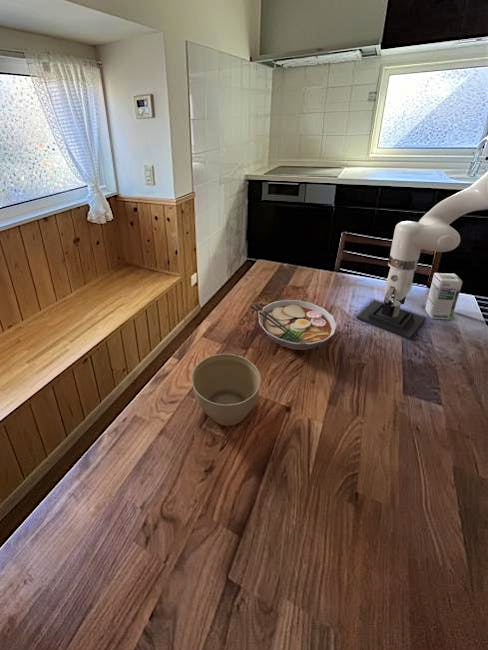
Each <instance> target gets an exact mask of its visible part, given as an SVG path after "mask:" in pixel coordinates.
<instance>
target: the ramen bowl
mask: <svg viewBox="0 0 488 650" xmlns="http://www.w3.org/2000/svg"><path fill="white" fill-rule="evenodd" d="M250 309H252V310H253V311H255V312H256V313H257V314H258V323H259V325H260V327H261V328H262V331H264V333H265V334H266V335H267V336H268V338H269V339H270V340H272V341H273V342H274V343H276V344H278V345H280V346H281V347H284V348H288V349H292V350H300V351H301V350H302V351H306V350H309V351H310V350H312V349H315V348H318V347H320V346H321V345H322V344H325V342H327V340H329V339H331V338H332V337H333V336H334V335H335V331H336V328H337V322H336V321H335V319H334V316H333V315H332V314H331V313H330V312H328V311H327V309H325V308H324V307H321V306H319V305H316V304H314V303H312V302H308V301H304V300H299V299H283V300H277V301H274V302H271V303H269V304H267V305H265V306H263V307H262V306H260V305H259V304H258V303H255V304H254V305H252V304H251V305H250Z"/></svg>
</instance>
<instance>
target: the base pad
mask: <svg viewBox="0 0 488 650" xmlns="http://www.w3.org/2000/svg"><path fill="white" fill-rule="evenodd" d="M382 307H383V302H381V301H378V300H376V299H374V300H372V301H371V302H370V303H369V304H368V305H367V306H366V307H365V308H364V309H363V310H362V311H361V312H359V314H358V315H356V320H358V321H361V322H363V323H366V324H368V325H371V326H374V327H376V328H379V329H381V330H384V331H386V332H388V333H391V334H394V335H396V336H399V337H401V338H404V339H406V340H410V341H411V339H412V338H413V336H414V335H415V334H416V332H417V331H418V330H419V329H420V327H421V326H422V325H423V324H424V322H425V321H426V317H425V316H423V315H419V314H417V313H414V312H412V311H408V310H405V309H403V308H400V310H399V311H401V312H404V313H406V314H407V315H406V317H405V318H404V320H403V321H402V322H401V323H400V324H397V323H394V322H391V321H389V320H386V319H383V318H381V317H378V316H375V315H376V313H377V312H378V311H379V310H380V309H381V308H382Z"/></svg>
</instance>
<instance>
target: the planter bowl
mask: <svg viewBox="0 0 488 650" xmlns="http://www.w3.org/2000/svg"><path fill="white" fill-rule="evenodd" d="M190 379H191V381H190V382H191V387H192V389H193V393H194V397H195V399H196V401H197V403H198V405H199V407H200V408H201V409H202V411H203V412H204V413H205V414H206V415H207V416H208V417H210V418H211V420H212V421H213V422H215V423H216V424H219V425H221V426H225V427H229V426H235V425H237V424H239V423H241V422H242V421H243V420H244V419H245V417H247V416H248V415H249V414H250V412H251V411H252V410H253V408H254V407H255V405H256V403H257V401H258V398H259V394H260V389H261V383H262V381H261V380H262V379H261V374H260V372H259V370H258V367H257V366H256V365H255V364H254V363H253V362H252V361H251V360H249V359H248V358H245V357H243V356H241V355H239V354H238V355H237V354H235V353H234V354H232V353H217V354H213V355H210V356H207V357H206V358H203V359H202V360H201V361H199V362H198V363H197V364H196V366H194V369H193V371H192V373H191V378H190Z"/></svg>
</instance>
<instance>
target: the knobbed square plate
mask: <svg viewBox="0 0 488 650" xmlns="http://www.w3.org/2000/svg"><path fill="white" fill-rule="evenodd" d="M390 301H393V299H392V298H390ZM401 305H402V304H401V303H400V302H399V301H397V300H396V302H395V304H394V306H395V308H394V313H393V316H392V317H389V316H387V315H384V314H382V313H381V312H382V308H381V309H380V310H379V311H378V312H377V313H376V315H375V316H378V317H381V318H383V319H386V320H389V321H391V322H394V323H397V324H400V323H401V322H402V321H403V320H404V318H405V317H406V315H407V314H406V313H404V312H401V311H399V310H400V309H401Z"/></svg>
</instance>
